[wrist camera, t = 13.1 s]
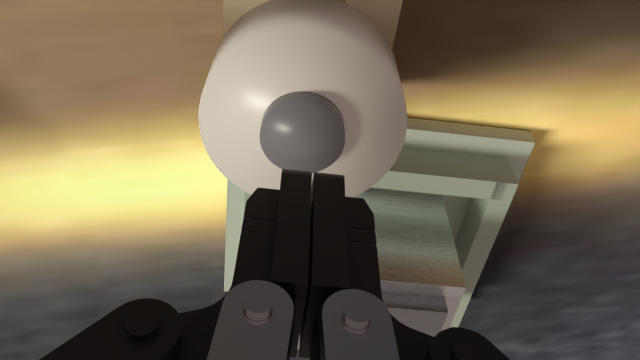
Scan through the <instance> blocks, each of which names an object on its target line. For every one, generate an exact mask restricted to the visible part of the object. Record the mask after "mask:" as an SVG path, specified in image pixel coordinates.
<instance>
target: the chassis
mask: <svg viewBox="0 0 640 360" xmlns="http://www.w3.org/2000/svg"><path fill="white" fill-rule="evenodd" d="M534 145H535V141H534V139H533V137H532V136H531V134H530V132H529V131H525V130H516V129H507V128H497V127H488V126H479V125H470V124H461V123H452V122H443V121H434V120H425V119H416V118H407V131H406V136H405V141H404V144H403V147H402V150H401V152H400V154H399V156H398V158H397V160H396V161H395V163H394V164H393V166H392V167H391V168H390V170H389V171H388V172H387V173H386V174H385V175H384V176H383V177H382V179H380V180H379V181H378V182H377V183H376V184H374V185H373V186H372V187H370V188H371V189H381V190H390V191H400V192H409V193H419V194H429V195H438V196H442V197H443V201H444V205H445V209H446V213H447V217H448V220H449V224H450V228H451V232H452V236H453V240H454V243H455V247H456V251H457V255H458V259H459V263H460V267H461V270H462V274H463V278H464V282H465V286H466V289H465V292H464V294H463V296H462V299H461V301H460V304H459V306H458V308H457V311H456V313H455V316H454V318H453V320H452V323H451V325H450V327H458V326H459V324H460V322H461V319H462V317H463V315H464V312H465V310H466V308H467V305H468V303H469V300H470V298H471V296H472V293H473V291H474V289H475V286H476V284H477V282H478V279H479V277H480V275H481V272H482V270H483V267H484V265H485V263H486V260H487V258H488V256H489V253H490V251H491V249H492V246H493V244H494V242H495V239H496V237H497V234H498V232H499V230H500V227H501V225H502V223H503V220H504V218H505V216H506V213H507V211H508V208H509V206H510V204H511V201H512V199H513V197H514V194H515V192H516V190H517V187H518V185H519V184H518V182H519V180H520V178H521V175H522V173H523V171H524V168H525V166H526V164H527V161H528V159H529V156H530V154H531V152H532V149H533V147H534ZM250 196H251V194H249V193H247V192H245V191H243V190H242V189H240V188H239V187H237V186H236V185H235V184H233V183H232V182H231V181H230V180H228V187H227V217H226V247H225V278H224V291H229V289H230V287H231V285H232V281H233V276H234V270H235V264H236V258H237V252H238V247H239V241H240V235H241V229H242V223H243V218H244V212H245V206H246V201H247V200H248V198H249V197H250Z"/></svg>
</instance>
